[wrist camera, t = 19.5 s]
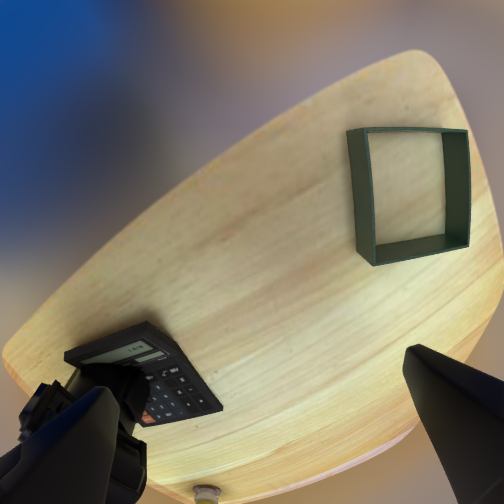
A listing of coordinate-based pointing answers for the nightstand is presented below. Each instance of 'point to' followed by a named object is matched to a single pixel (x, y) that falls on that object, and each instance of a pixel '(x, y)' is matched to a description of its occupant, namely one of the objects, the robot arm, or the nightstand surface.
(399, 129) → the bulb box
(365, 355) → the nightstand surface
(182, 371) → the calculator
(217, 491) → the coaster
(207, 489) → the light bulb
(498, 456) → the robot arm
